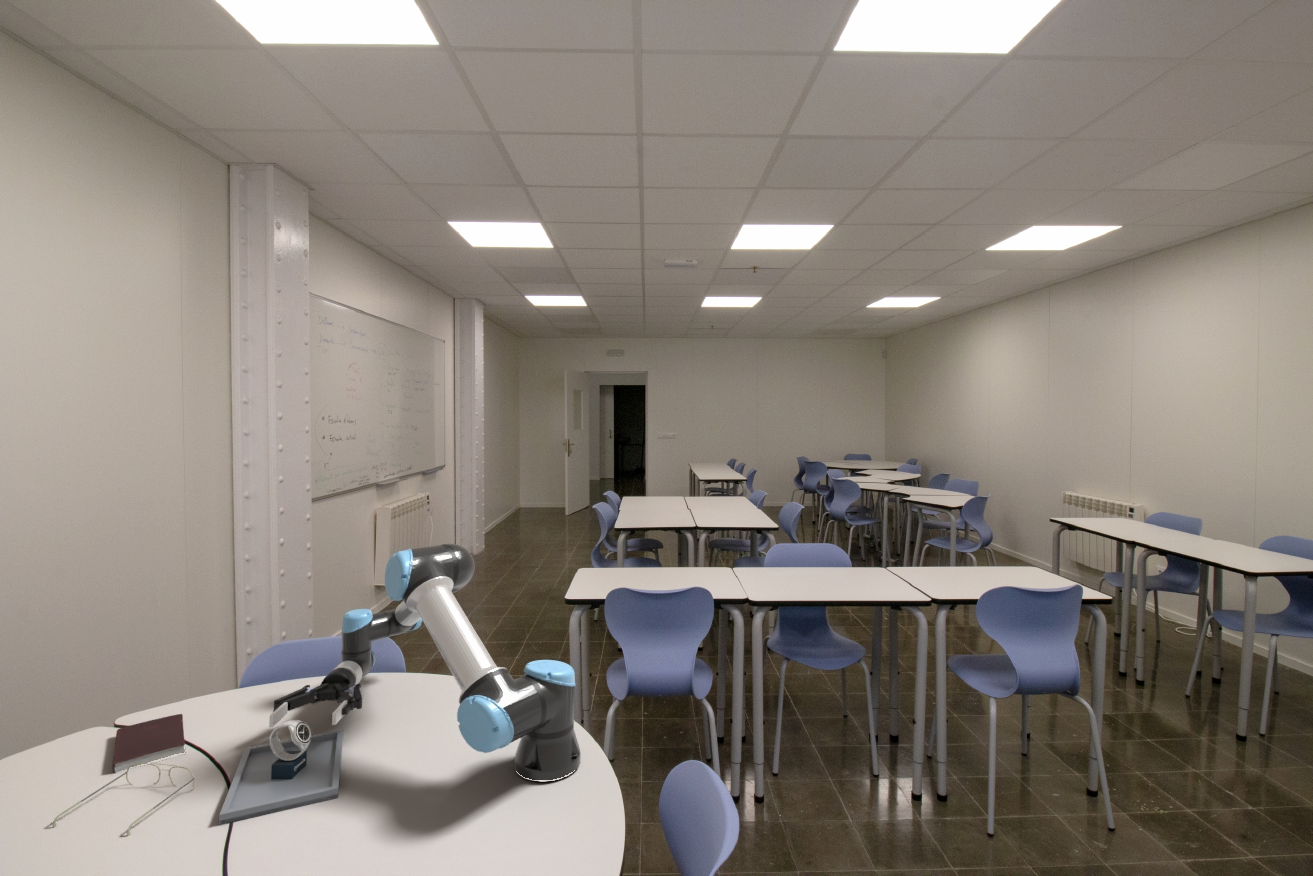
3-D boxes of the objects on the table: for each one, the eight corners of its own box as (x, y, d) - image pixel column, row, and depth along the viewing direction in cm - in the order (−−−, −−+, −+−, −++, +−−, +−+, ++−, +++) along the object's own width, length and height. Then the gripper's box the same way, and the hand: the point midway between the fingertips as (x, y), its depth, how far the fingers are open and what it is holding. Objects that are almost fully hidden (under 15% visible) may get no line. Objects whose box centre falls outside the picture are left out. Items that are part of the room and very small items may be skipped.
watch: (300, 779, 123) (302, 728, 123) (262, 779, 123) (264, 728, 123) (315, 764, 129) (316, 716, 129) (279, 764, 128) (280, 715, 128)
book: (111, 777, 125) (111, 762, 125) (116, 739, 139) (116, 726, 139) (185, 757, 133) (186, 743, 133) (183, 724, 147) (183, 711, 147)
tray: (338, 797, 119) (338, 788, 119) (219, 825, 110) (219, 814, 110) (342, 737, 142) (343, 729, 142) (245, 756, 133) (245, 747, 133)
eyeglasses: (200, 789, 121) (200, 766, 121) (128, 838, 106) (128, 811, 106) (132, 783, 123) (132, 760, 123) (51, 830, 108) (52, 804, 108)
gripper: (390, 693, 154) (359, 734, 133) (291, 696, 151) (244, 738, 130) (390, 666, 154) (360, 702, 133) (292, 668, 151) (244, 706, 130)
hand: (302, 720), depth 132 cm, fingers open, 13 cm apart
